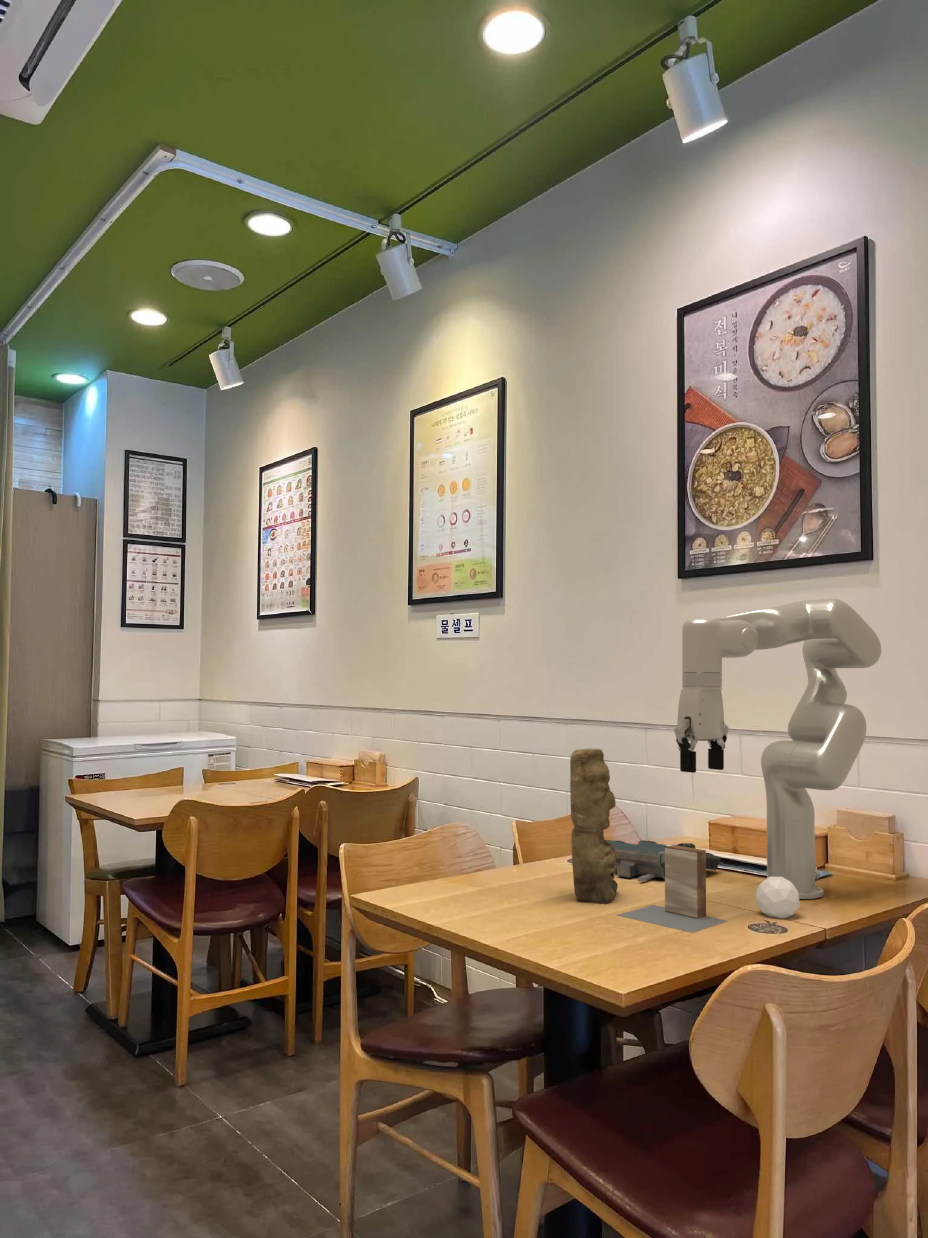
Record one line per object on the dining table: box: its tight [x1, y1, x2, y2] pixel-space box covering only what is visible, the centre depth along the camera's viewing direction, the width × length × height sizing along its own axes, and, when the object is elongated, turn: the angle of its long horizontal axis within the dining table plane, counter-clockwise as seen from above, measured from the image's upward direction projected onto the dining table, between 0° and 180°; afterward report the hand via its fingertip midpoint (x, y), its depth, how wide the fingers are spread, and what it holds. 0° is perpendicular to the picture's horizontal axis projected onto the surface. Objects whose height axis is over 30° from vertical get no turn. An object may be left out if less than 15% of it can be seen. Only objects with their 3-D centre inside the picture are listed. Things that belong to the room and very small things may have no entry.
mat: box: [616, 904, 728, 934], centre depth 168 cm, size 12×16×1 cm
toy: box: [605, 839, 721, 882], centre depth 215 cm, size 27×9×30 cm
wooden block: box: [664, 844, 707, 919], centre depth 172 cm, size 3×7×12 cm, turn 45°
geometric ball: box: [755, 877, 801, 919], centre depth 172 cm, size 8×8×8 cm
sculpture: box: [569, 748, 618, 905], centre depth 186 cm, size 12×9×30 cm
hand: (702, 770), depth 179 cm, fingers open, 9 cm apart
